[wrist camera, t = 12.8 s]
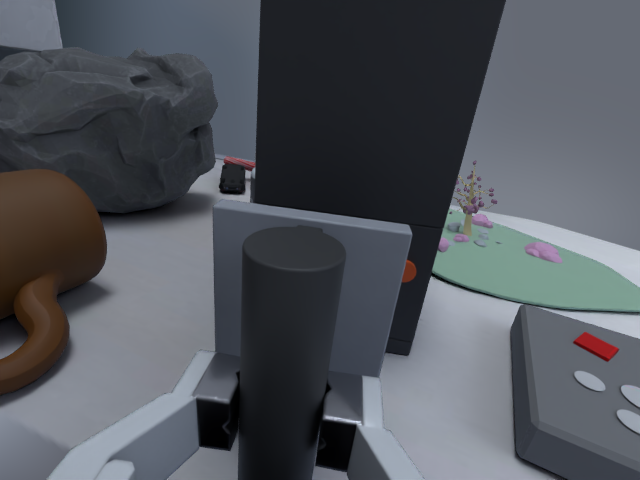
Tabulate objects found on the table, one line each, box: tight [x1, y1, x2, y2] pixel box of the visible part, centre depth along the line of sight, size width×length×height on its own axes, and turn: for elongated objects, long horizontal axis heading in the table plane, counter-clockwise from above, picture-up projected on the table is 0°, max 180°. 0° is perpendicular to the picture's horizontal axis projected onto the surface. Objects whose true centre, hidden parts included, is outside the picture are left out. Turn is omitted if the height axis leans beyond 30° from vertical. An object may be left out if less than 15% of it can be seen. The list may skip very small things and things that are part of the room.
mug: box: [0, 169, 107, 395], centre depth 18 cm, size 12×8×9 cm
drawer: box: [213, 199, 412, 480], centre depth 15 cm, size 6×14×9 cm, turn 174°
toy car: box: [219, 164, 245, 194], centre depth 48 cm, size 8×4×2 cm, turn 11°
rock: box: [0, 47, 218, 213], centre depth 33 cm, size 22×14×15 cm, turn 126°
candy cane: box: [224, 156, 255, 171], centre depth 53 cm, size 6×15×2 cm, turn 83°
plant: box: [432, 161, 640, 312], centre depth 34 cm, size 25×21×9 cm
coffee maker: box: [254, 0, 506, 355], centre depth 21 cm, size 10×11×18 cm
